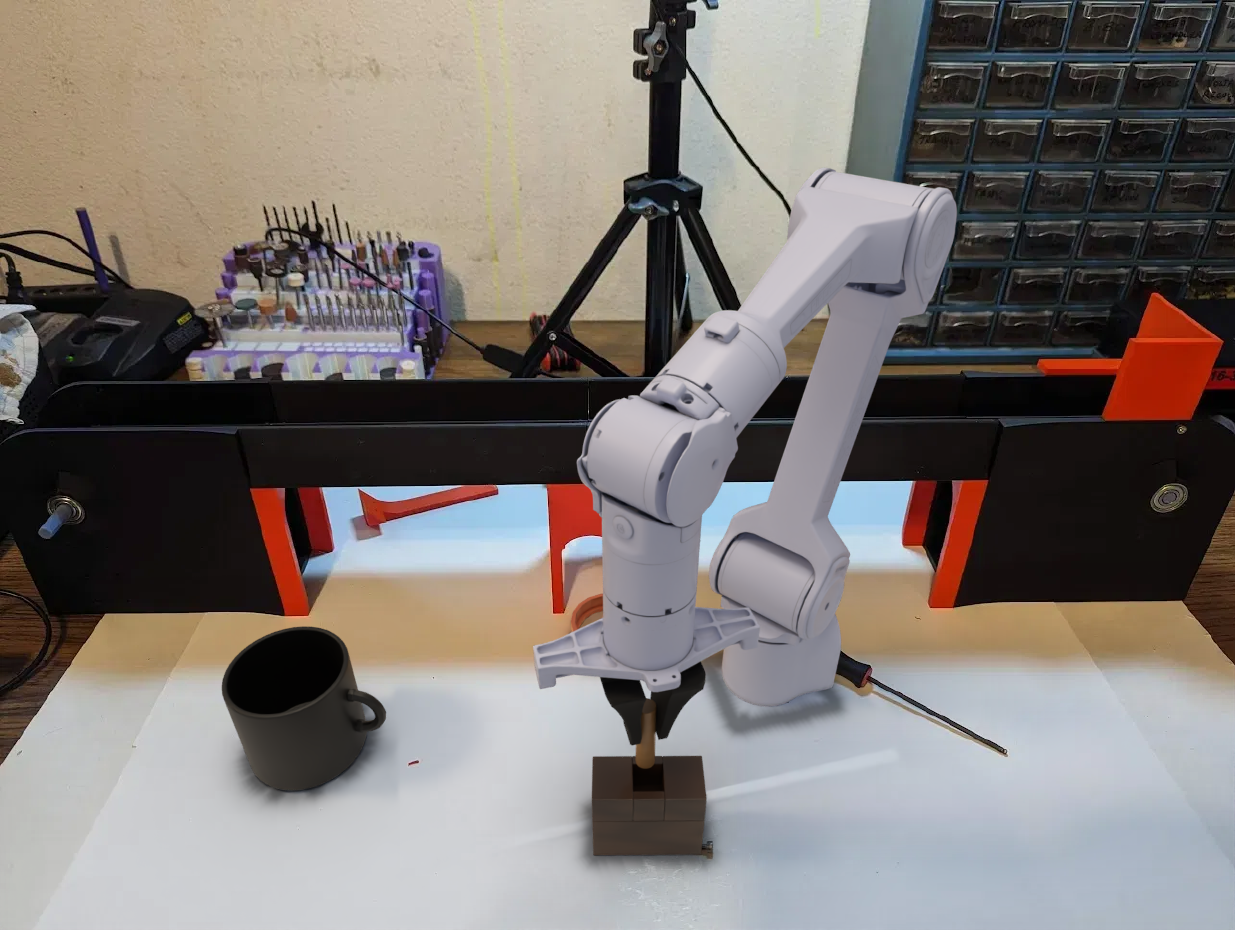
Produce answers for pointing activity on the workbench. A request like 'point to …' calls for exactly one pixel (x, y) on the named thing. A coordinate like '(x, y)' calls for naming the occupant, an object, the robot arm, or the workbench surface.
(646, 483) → the robot arm
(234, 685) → the mug
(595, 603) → the ring
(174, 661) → the workbench surface
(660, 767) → the stand
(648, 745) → the stick
